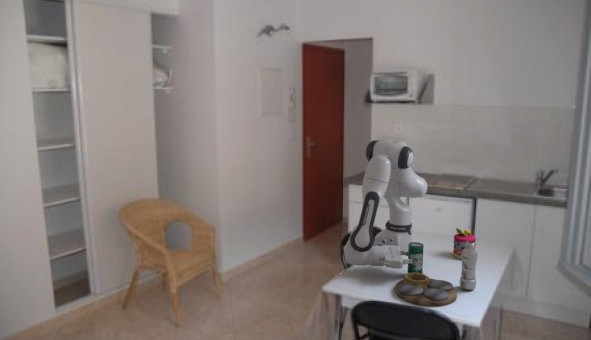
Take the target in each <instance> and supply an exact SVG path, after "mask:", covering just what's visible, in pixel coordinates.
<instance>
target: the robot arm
mask: <svg viewBox="0 0 591 340" xmlns="http://www.w3.org/2000/svg"><path fill="white" fill-rule="evenodd" d="M365 158H366V160H367V161H368V165H367V167H366V170H365V172H364V175H363V176H364V177H363V180H362V188H361V195H362V208H361V212H360V216H359V219H358V220H359V221H358V224H357V225H356V226H354V227H353V228H352V230H351V231H350V236H349V238H348V240H347V242H346V244H345V245H344V246H343V248H342V253H343V259H344V262H345V263H346V264H348V265H352V266H371V267H385V268H388V269H390V268H391V269H399V270H400V269H403V267H404V265H408V264H412V263H413V259H410V258H408V246H409V243H411V242H413V241H412V234H413V224H412V207H410V205H409V204H407V203H405V202H404V201H403V200H402V199H401V198H411V199H413V198H415V199H416V198H423V197H424V196H425V195H426V194H427V191H428V183H427V181H426V179H425V178H424V177H421V176H420V175H418V174H417V173H416V172H415V171H414V170H413V169H412V165H413V164H412V163H413V160H414V151H413V149H412V148H410V147H409V146H407V144H406V143H405V142H404V141H402V140H394V141H392V142H388V141H381V140H378V139H377V140H376V139H375V140H374V139H373V140H371V141H369V143H368V144H367V146H366V148H365ZM383 199H385V201H386V203H387V205H388V210H389V219H388V220H387V221H386V222H385V224H384V225H385V228H384V229H382V230H381V231H380V232H378V233H377V234H376V235H375V236H374V233H373V229H374V224H375V220H376V216H377V212H378V209H379V206H380V204H381V202H382V201H383ZM402 256H406V257H407V258H402Z"/></svg>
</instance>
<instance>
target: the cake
mask: <svg viewBox="0 0 591 340" xmlns="http://www.w3.org/2000/svg"><path fill="white" fill-rule="evenodd" d="M455 230H456V234H454V235H453V250H452V252H453V257H452V258H453V259H456V260H459V261H462V258H461V254H462V251H463V250H464V249H465V248H466V247H465V242H466V241H472V242H474V243H475V246H476V245H477V243H476V240H477V238H476V236H475V235H473V234H472V231H471V229H467V228H466V229H465V230H464V231H462V229H460V228H459V227H455ZM474 249H475V250H476V247H475V248H474Z"/></svg>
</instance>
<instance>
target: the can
mask: <svg viewBox="0 0 591 340" xmlns="http://www.w3.org/2000/svg"><path fill="white" fill-rule="evenodd" d="M408 258H410V259H413V263H412V264H407V273H413V272H416V273H422V274H423V270H424V269H423V268H424V266H423V265H424V244H423V243H421V242H417V241H414V242H413V241H412V242H411V243H409V246H408V256H407V259H408Z"/></svg>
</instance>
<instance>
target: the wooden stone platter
mask: <svg viewBox="0 0 591 340" xmlns="http://www.w3.org/2000/svg"><path fill="white" fill-rule="evenodd" d="M395 294H396V295H397V297H399V298H400V299H401V300H403V301H405V302H407V303H409V304H412V305H416V306H417V305H418V306H423V307H443V306H448V305H449V306H450V305H452V304H453V303H455V302H456V301H457V298H458V297H457V296H458V290H457V289H456V288H455V287H454V286H453V284H452V283H451V282H450V281H447V280H442V279H435V278H430V277H429V276H428V275H426V274H424V273H423V272H422V273H416V272H413V273H408V272H407V273H406V274H405V275H404V277H403V279H401V280H399V281H398V282H396V284H395Z"/></svg>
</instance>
